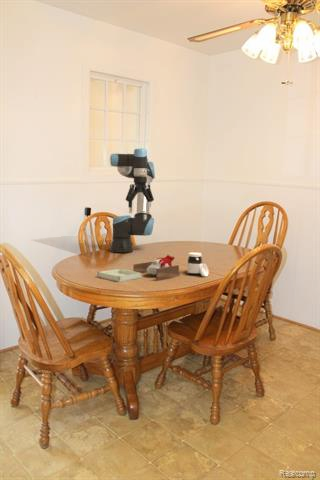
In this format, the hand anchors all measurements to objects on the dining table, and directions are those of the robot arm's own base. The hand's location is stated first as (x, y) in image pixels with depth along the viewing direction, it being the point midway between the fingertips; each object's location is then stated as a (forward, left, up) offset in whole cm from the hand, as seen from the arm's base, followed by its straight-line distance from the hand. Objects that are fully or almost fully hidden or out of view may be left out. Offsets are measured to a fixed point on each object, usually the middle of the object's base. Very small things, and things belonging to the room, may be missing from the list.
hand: (139, 213), depth 242 cm
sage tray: (+16, -29, -32) cm, 46 cm away
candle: (+26, -14, -32) cm, 44 cm away
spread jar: (+39, +6, -32) cm, 51 cm away
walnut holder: (+26, -14, -32) cm, 43 cm away
